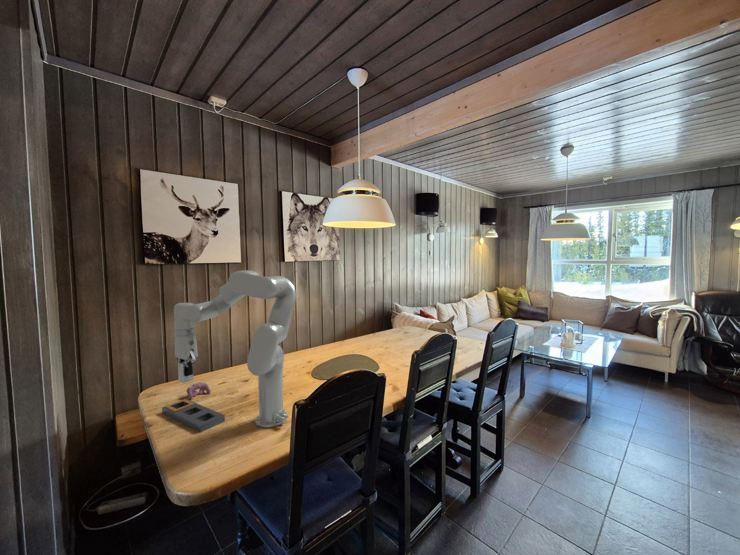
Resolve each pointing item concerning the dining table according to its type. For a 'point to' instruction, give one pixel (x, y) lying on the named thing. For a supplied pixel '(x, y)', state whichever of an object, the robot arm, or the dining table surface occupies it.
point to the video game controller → (201, 386)
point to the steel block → (183, 373)
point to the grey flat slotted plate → (193, 415)
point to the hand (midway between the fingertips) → (185, 373)
